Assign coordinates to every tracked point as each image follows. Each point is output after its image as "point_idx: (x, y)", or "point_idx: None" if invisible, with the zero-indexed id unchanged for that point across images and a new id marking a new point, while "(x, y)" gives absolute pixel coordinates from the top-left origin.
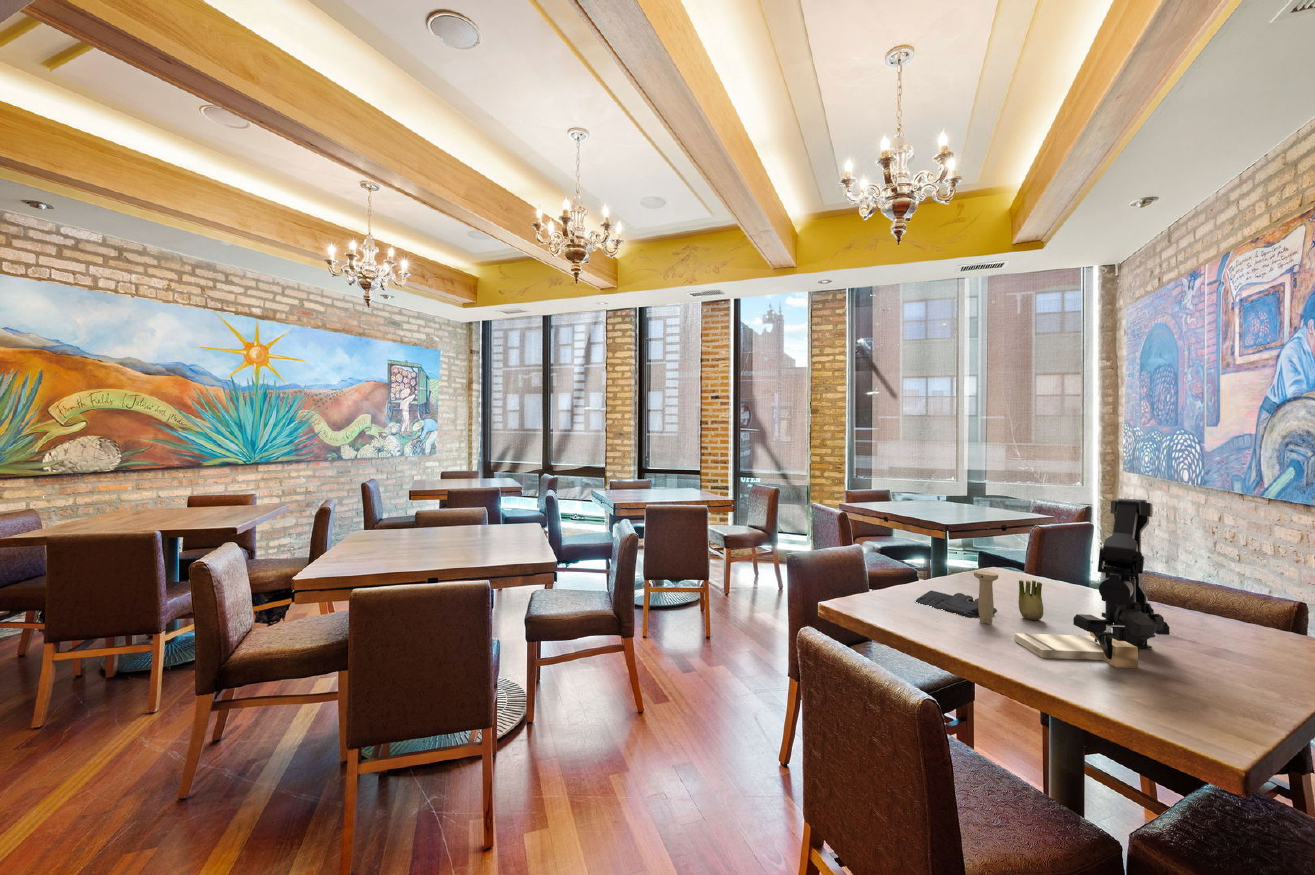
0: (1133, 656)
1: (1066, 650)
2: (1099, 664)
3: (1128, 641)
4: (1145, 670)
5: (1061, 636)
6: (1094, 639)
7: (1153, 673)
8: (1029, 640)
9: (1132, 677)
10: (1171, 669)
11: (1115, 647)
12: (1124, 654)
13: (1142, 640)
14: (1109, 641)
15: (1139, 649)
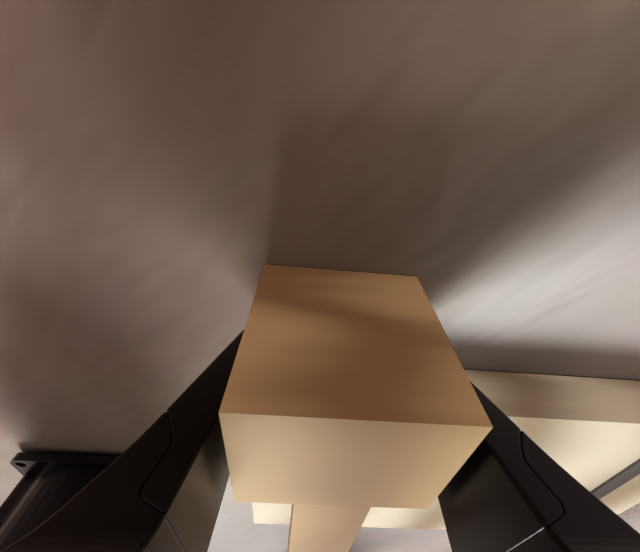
0: (286, 327)
1: (619, 425)
2: (479, 315)
3: (216, 502)
4: (238, 225)
5: (406, 520)
6: (275, 505)
7: (215, 165)
8: (631, 499)
9: (513, 61)
10: (17, 242)
11: (480, 418)
12: (375, 344)
13: (83, 533)
14: (567, 508)
15: (182, 398)
